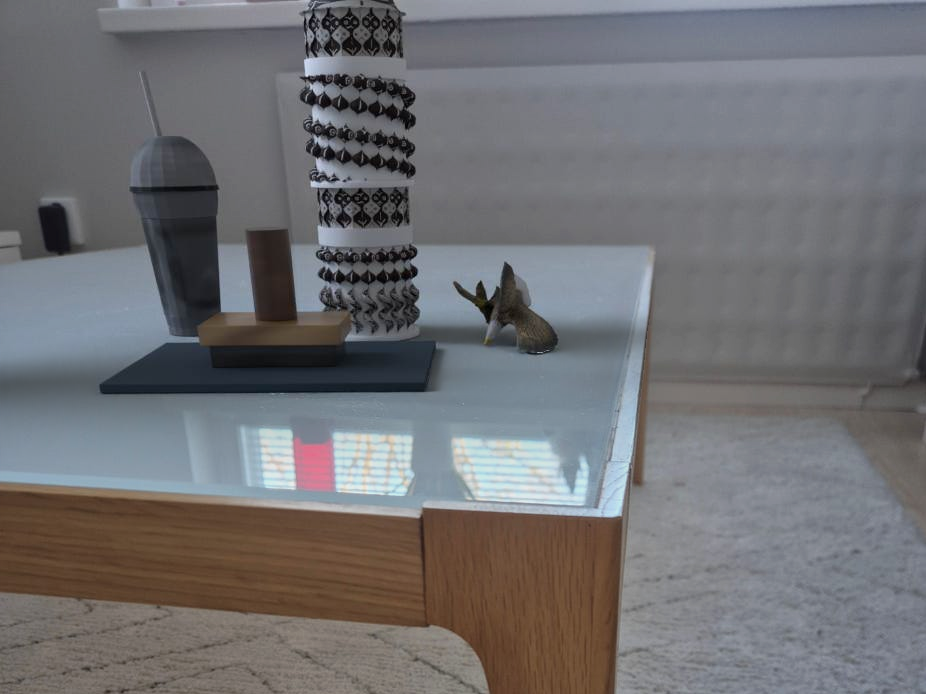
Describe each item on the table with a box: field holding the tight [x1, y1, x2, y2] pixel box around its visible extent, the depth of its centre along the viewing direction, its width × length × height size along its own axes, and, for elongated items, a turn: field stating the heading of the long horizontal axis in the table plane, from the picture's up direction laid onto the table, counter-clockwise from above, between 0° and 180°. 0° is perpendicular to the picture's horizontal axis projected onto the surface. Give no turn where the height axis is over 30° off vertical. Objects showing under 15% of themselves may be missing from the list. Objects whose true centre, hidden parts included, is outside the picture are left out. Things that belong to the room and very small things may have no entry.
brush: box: [197, 226, 352, 368], centre depth 68 cm, size 10×6×9 cm, turn 90°
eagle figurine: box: [452, 261, 559, 354], centre depth 76 cm, size 8×7×9 cm
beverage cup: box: [129, 70, 222, 337], centre depth 80 cm, size 7×7×20 cm
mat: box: [98, 340, 437, 394], centre depth 70 cm, size 22×15×1 cm
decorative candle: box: [297, 0, 421, 341], centre depth 76 cm, size 9×9×25 cm
